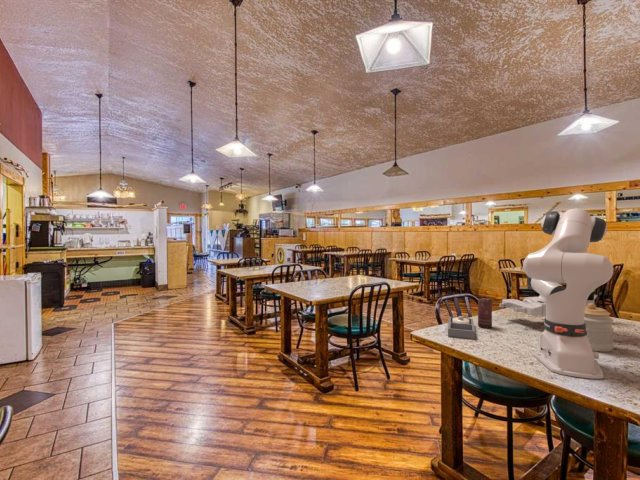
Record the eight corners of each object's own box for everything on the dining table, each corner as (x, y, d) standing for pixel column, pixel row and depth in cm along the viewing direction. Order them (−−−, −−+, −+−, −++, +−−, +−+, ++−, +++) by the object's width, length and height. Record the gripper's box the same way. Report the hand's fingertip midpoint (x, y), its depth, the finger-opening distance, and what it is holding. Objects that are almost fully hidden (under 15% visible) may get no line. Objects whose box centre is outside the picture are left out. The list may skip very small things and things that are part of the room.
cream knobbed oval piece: (469, 328, 151) (469, 319, 151) (452, 327, 154) (452, 317, 154) (469, 324, 158) (469, 315, 158) (452, 322, 161) (452, 314, 161)
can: (494, 328, 154) (494, 299, 153) (480, 328, 155) (479, 299, 155) (490, 325, 160) (490, 297, 159) (476, 324, 161) (476, 296, 161)
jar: (568, 346, 129) (569, 303, 128) (573, 338, 138) (573, 298, 138) (612, 355, 120) (613, 308, 119) (613, 346, 129) (614, 302, 129)
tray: (475, 339, 139) (475, 331, 139) (448, 336, 143) (447, 328, 143) (472, 325, 159) (472, 318, 159) (449, 323, 164) (449, 316, 164)
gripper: (515, 295, 172) (492, 297, 170) (549, 304, 152) (523, 306, 149) (515, 307, 172) (492, 308, 170) (549, 317, 152) (523, 319, 150)
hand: (507, 307), depth 159 cm, fingers open, 8 cm apart
